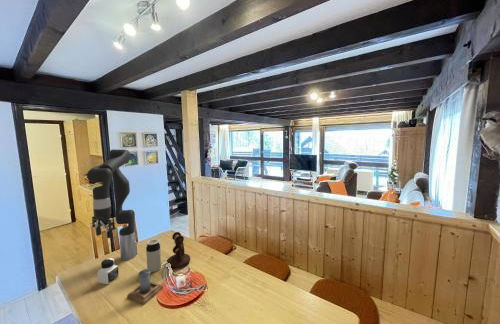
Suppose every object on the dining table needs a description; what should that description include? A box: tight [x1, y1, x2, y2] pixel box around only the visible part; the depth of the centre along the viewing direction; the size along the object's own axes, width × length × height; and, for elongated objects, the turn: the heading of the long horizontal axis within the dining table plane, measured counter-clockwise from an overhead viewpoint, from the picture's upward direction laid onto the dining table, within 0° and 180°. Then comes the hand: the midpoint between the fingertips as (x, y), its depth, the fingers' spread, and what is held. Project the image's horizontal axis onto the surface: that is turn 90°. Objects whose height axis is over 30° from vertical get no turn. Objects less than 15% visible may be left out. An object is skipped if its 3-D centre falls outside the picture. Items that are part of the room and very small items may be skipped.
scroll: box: [166, 231, 191, 269], centre depth 138 cm, size 15×15×20 cm
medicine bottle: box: [97, 257, 120, 285], centre depth 121 cm, size 7×7×12 cm
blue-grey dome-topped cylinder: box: [138, 268, 152, 294], centre depth 110 cm, size 6×6×10 cm
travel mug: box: [145, 238, 162, 273], centre depth 131 cm, size 8×8×18 cm
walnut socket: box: [126, 281, 164, 305], centre depth 111 cm, size 12×12×3 cm
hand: (104, 236), depth 110 cm, fingers open, 8 cm apart
